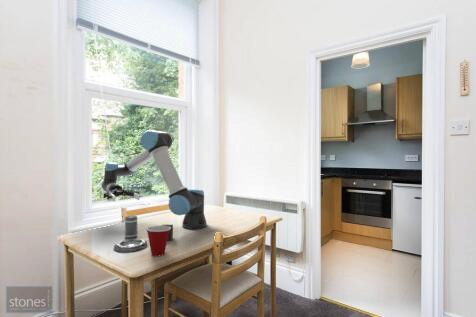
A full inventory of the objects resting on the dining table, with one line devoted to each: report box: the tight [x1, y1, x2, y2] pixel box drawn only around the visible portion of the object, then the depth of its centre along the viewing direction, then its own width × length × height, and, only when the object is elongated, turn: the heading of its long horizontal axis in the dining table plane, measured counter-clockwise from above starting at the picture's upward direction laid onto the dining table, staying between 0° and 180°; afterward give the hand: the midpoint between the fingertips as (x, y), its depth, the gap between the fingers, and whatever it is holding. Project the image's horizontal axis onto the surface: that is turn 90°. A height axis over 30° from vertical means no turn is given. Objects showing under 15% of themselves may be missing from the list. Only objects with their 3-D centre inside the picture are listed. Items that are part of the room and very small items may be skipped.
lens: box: [124, 215, 138, 240], centre depth 139 cm, size 6×6×11 cm
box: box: [160, 224, 174, 242], centre depth 136 cm, size 6×6×7 cm
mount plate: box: [113, 238, 148, 253], centre depth 125 cm, size 15×15×2 cm
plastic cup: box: [145, 225, 171, 257], centre depth 117 cm, size 11×11×12 cm
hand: (127, 198), depth 146 cm, fingers open, 13 cm apart
